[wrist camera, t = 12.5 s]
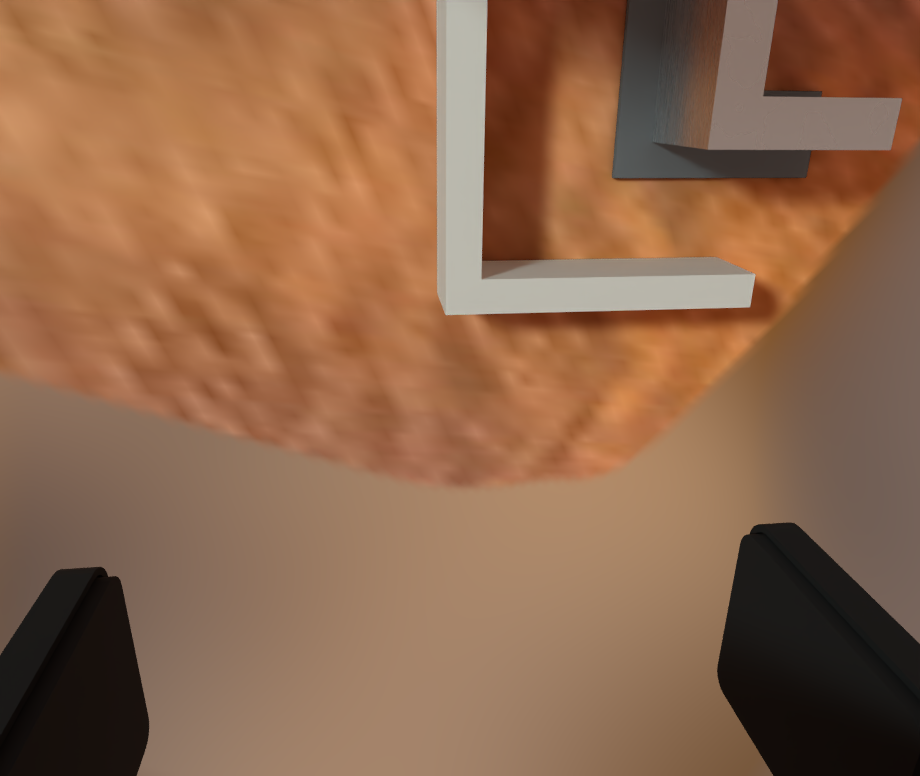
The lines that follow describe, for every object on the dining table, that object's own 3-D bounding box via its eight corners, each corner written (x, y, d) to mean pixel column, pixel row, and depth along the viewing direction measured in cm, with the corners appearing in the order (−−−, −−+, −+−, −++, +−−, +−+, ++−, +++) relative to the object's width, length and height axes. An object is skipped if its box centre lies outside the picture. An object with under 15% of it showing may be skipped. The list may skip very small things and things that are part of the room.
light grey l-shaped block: (436, -185, 29) (447, -227, 25) (777, -164, 30) (834, -201, 27) (437, 292, 36) (445, 315, 32) (711, 287, 38) (750, 307, 34)
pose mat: (637, -115, 30) (639, -117, 30) (854, -104, 32) (858, -106, 31) (612, 177, 35) (614, 178, 34) (802, 177, 36) (806, 177, 36)
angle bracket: (677, -106, 30) (747, -152, 25) (851, -97, 31) (955, -140, 26) (651, 142, 34) (707, 149, 29) (807, 142, 35) (890, 150, 30)
